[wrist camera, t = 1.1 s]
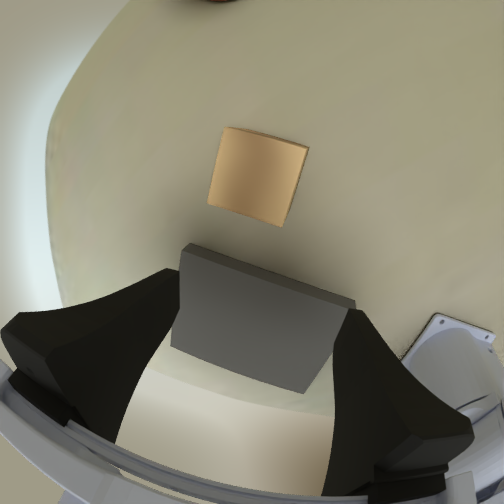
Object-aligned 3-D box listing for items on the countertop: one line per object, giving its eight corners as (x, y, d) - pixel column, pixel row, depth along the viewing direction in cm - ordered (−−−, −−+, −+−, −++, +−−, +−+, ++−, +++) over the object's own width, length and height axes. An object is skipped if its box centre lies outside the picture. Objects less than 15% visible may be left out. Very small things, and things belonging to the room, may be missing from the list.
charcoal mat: (354, 300, 21) (356, 311, 19) (305, 383, 25) (303, 394, 24) (189, 243, 22) (181, 250, 21) (176, 336, 27) (170, 345, 26)
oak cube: (309, 147, 17) (306, 149, 13) (290, 207, 19) (281, 227, 15) (245, 128, 18) (224, 126, 14) (230, 188, 20) (206, 203, 16)
